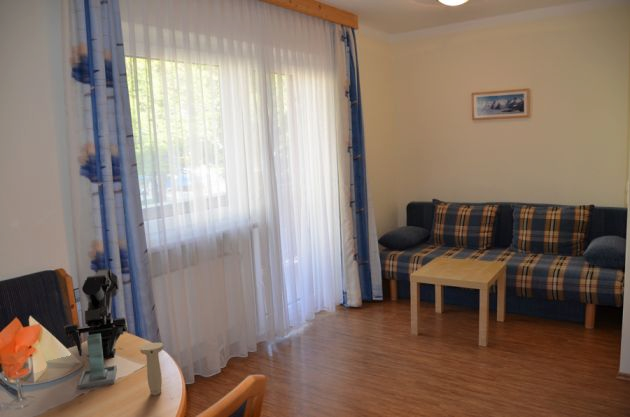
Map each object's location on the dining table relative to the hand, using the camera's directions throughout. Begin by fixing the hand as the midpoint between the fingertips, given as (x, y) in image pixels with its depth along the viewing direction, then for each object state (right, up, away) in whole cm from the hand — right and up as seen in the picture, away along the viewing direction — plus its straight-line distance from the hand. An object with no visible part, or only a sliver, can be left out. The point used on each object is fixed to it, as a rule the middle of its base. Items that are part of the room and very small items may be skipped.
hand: (96, 353), depth 162 cm
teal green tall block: (0, -8, +1) cm, 8 cm away
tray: (0, -9, +1) cm, 9 cm away
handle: (+22, -10, -9) cm, 26 cm away
